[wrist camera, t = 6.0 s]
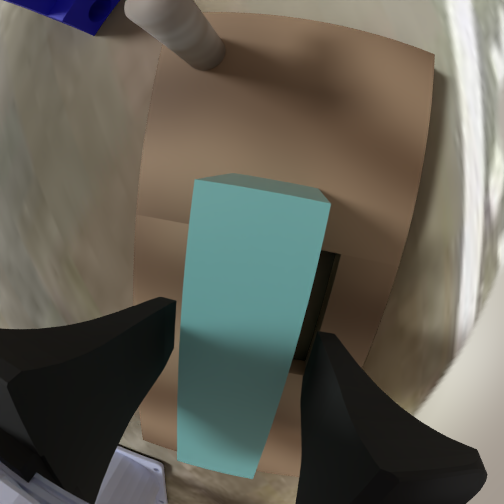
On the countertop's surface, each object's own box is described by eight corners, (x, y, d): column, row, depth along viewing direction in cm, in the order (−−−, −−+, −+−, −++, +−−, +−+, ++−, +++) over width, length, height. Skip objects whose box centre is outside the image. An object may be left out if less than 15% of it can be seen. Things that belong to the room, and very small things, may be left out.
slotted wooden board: (305, 464, 17) (301, 539, 11) (149, 428, 18) (113, 493, 12) (424, 51, 10) (494, -5, 4) (182, 13, 11) (117, -54, 5)
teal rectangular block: (265, 409, 14) (252, 478, 10) (204, 395, 15) (177, 460, 10) (318, 188, 11) (331, 203, 7) (233, 172, 11) (194, 179, 7)
